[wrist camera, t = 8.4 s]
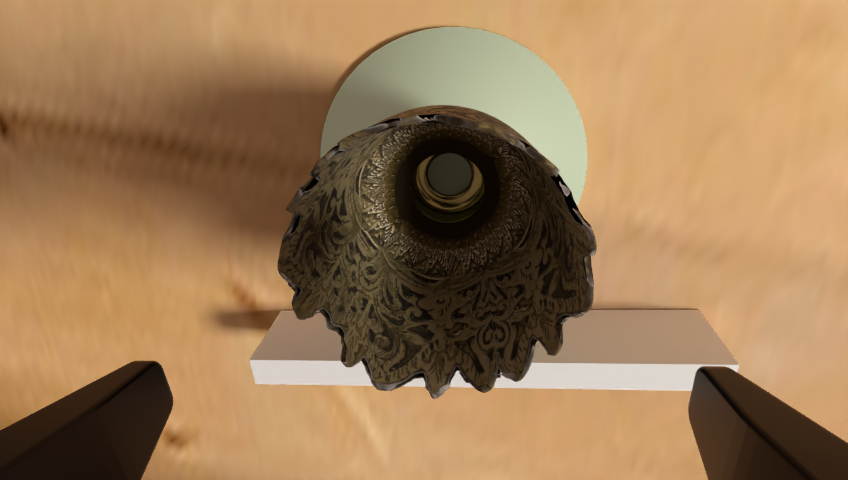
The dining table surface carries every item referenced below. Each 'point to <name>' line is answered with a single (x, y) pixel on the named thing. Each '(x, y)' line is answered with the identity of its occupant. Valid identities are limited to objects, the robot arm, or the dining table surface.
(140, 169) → the dining table surface
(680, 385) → the acrylic wall
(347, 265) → the cup
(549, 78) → the pad
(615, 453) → the dining table surface
